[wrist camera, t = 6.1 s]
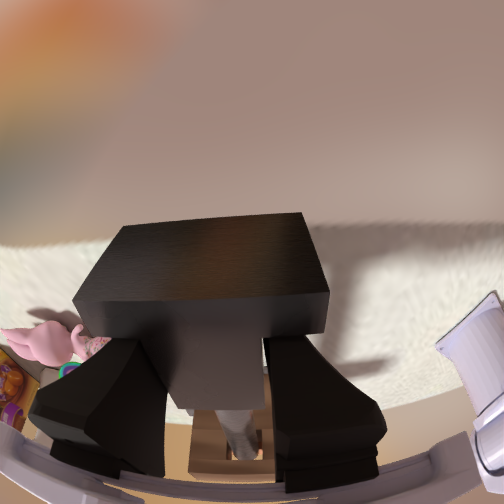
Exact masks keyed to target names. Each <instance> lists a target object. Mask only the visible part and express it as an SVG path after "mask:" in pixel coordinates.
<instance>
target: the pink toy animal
mask: <svg viewBox="0 0 504 504" xmlns="http://www.w3.org/2000/svg"><path fill="white" fill-rule="evenodd" d="M0 330H1V332H2V333H3V334H4V335H5V336H6V337H7V338H8V339H7V342H8V344H9V345H10V347H11V348H12V349H13V350H14V351H15V353H16V354H18V355H19V356H20V357H22V358H24V359H27V360H31V361H39V362H41V363H42V364H44V365H47V366H61V365H63V366H62V367H61V368H60V371H59V379H60V378H61V377H63V376H65V375H66V374H68V373H69V372H71V371H72V370H74V369H75V368H77V367H78V366H80V365H81V363H77V362H69V361H70V360H71V358H72V356H73V353H75V354H77V355H78V356H79V357H80V358H81V359H82V360H83V361H84V362H85V361H86V360H87V359H89V358H90V357H91V356H93V355H94V354H95V353H96V352H98V351H99V350H100V349H101V348H102V347H103V346H104V345H105V344H107V343H108V342H109V341H110V340H111V339H112V338H109V337H95V338H91V337H88V336H79V332H81V331H82V330H83V326H82V325H81V324H78V325H77V326H76V327H75V328H74V329H73V331H72V334H71V333H70V332H68V331H67V328H66V327H65V326H62V325H61V324H60V323H59V322H56V321H46V322H44V323H42V324H40V325H38V326H36V327H34V328H31V329H28V328H15V329H2V328H1V329H0ZM9 339H10V340H9Z"/></svg>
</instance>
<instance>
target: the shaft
mask: <svg viewBox="0 0 504 504" xmlns="http://www.w3.org/2000/svg"><path fill="white" fill-rule="evenodd" d="M329 295H330V290H329V287H328V284H327V281H326V279H325V276H324V273H323V270H322V267H321V264H320V261H319V258H318V256H317V253H316V250H315V247H314V244H313V242H312V239H311V236H310V233H309V231H308V228H307V225H306V223H305V220H304V217H303V215H302V213H301V212H298V213H279V214H261V215H246V216H231V217H217V218H205V219H193V220H181V221H169V222H159V223H148V224H138V225H128V226H123V227H122V228H121V230H120V231H119V232H118V234H117V235H116V236H115V238H114V239H113V240H112V242H111V243H110V244H109V246H108V247H107V249H106V250H105V251H104V253H103V254H102V256H101V257H100V259H99V260H98V261H97V263H96V264H95V266H94V267H93V269H92V270H91V272H90V273H89V275H88V276H87V278H86V279H85V281H84V282H83V284H82V285H81V287H80V289H79V290H78V292H77V293H76V295H75V296H74V298H73V300H72V302H73V304H74V305H75V307H76V309H77V311H78V313H79V315H80V316H81V318H82V320H83V322H84V324H85V325H86V327H87V329H88V330H89V332H90V334H91V336H95V337H109V338H126V339H140V341H141V343H142V345H143V347H144V349H145V351H146V353H147V355H148V357H149V358H150V360H151V362H152V364H153V366H154V368H155V370H156V371H157V373H158V375H159V377H160V379H161V380H162V382H163V384H164V386H165V387H166V389H167V391H168V393H169V394H170V396H171V398H172V399H173V401H174V403H175V404H176V406H177V407H178V409H192V410H215V413H216V415H217V418H218V420H219V422H220V425H221V427H222V429H223V432H224V434H225V436H226V438H227V441H228V443H229V445H230V447H231V449H232V452H233V454H234V456H235V457H236V458H237V459H238V460H254V459H255V458H256V457H257V456H258V454H259V446H258V440H257V434H256V428H255V422H254V416H253V410H260V409H265V388H264V365H263V343H262V338H269V337H284V336H297V335H308V334H319V333H324V329H325V323H326V316H327V310H328V303H329Z"/></svg>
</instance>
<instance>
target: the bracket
mask: <svg viewBox="0 0 504 504" xmlns="http://www.w3.org/2000/svg"><path fill="white" fill-rule="evenodd" d="M264 388H265V409H260V410H253V416H254V422H255V428H256V434H257V440H258V442H262V451H263V460H232V449H231V447H230V445H229V443H228V441H227V438H226V436H225V434H224V432H223V429H222V427H221V425H220V422H219V420H218V418H217V415H216V413H215V410H194V417H193V426H192V435H191V445H190V455H189V466H188V473H189V474H191V475H192V476H193V477H194V478H196V479H197V480H206V481H229V482H257V481H275V461H274V440H273V420H272V401H271V389H270V382H269V376H268V374H264Z"/></svg>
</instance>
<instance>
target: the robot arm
mask: <svg viewBox="0 0 504 504" xmlns="http://www.w3.org/2000/svg"><path fill="white" fill-rule="evenodd" d="M263 344H264V350H265V357H266V363H267V369H268V376H269V382H270V389H271V401H272V420H273V440H274V461H275V483H264V484H220V483H203V482H191V481H181V480H173V479H166V478H163V477H164V476H165V461H164V431H165V414H166V403H167V394H168V391H167V389H166V387H165V386H164V384H163V382H162V380H161V379H160V377H159V375H158V373H157V371H156V370H155V368H154V366H153V364H152V362H151V360H150V358H149V357H148V355H147V353H146V351H145V349H144V347H143V345H142V343H141V341H140V339H126V338H112V339H111V340H110V341H109V342H108V343H107V344H105V345H104V346H103V347H102V348H101V349H100V350H99V351H98V352H96V353H95V354H94V355H93V356H91V357H90V358H89V359H87V360H86V361H85V362H84V363H82V364H81V365H80V366H78V367H77V368H75V369H74V370H72V371H71V372H69V373H68V374H66V375H65V376H63V377H61V378H60V379H58V380H56V381H54V382H52V383H50V384H48V385H47V386H45V387H43V388H41V389H39V390H37V392H36V395H35V397H34V399H33V402H32V404H31V407H30V409H29V412H28V414H27V415H28V418H29V420H30V421H31V422H32V423H33V424H34V425H35V426H36V427H37V428H39V429H40V430H41V431H42V432H44V433H45V434H46V435H48V436H49V437H50V438H51V439H53V443H52V447H51V448H49V447H47V446H45V445H42V444H40V443H37V442H35V441H33V440H31V439H28V438H26V437H25V436H24V435H23V434H22V433H20V432H19V431H18V430H16V429H15V428H13V427H11V426H9V425H7V424H5V423H4V422H2V421H0V473H2V474H3V475H5V476H6V477H7V478H9V479H11V480H12V481H13V482H15V483H16V484H18V485H19V486H21V487H22V488H24V489H25V490H27V491H28V492H30V493H32V494H33V495H35V496H37V497H38V498H40V499H42V500H44V501H45V502H47V503H49V504H144V502H145V501H144V500H143V499H141V498H138V497H135V496H132V495H130V494H127V493H125V492H123V491H122V490H120V489H116V488H113V487H110V486H107V485H104V484H103V482H104V483H108V484H111V485H115V486H118V487H122V488H126V489H131V490H135V491H140V492H145V493H150V494H155V495H161V496H167V497H173V498H181V499H190V500H201V501H213V502H241V503H243V502H245V503H247V502H249V503H250V502H277V501H291V500H300V501H294V502H288V503H281V504H447V503H449V502H451V501H453V500H455V499H457V498H458V497H460V496H462V495H464V494H466V493H468V492H469V491H471V490H473V489H475V488H476V487H478V486H480V485H481V484H482V480H481V477H482V479H483V482H484V484H485V487H486V490H487V491H488V492H492V493H499V494H504V312H503V310H502V307H501V305H500V303H499V301H498V299H497V297H496V295H495V294H494V293H491V294H490V295H489V296H488V297H487V298H486V299H485V300H484V301H483V302H482V303H481V304H480V305H479V306H478V307H477V308H476V309H475V310H474V311H473V312H472V313H471V314H470V315H468V316H467V317H466V318H465V319H464V320H463V321H462V322H461V323H460V324H459V325H458V326H456V327H455V328H454V329H453V330H452V331H451V332H450V333H448V334H447V335H446V336H445V337H444V338H443V339H441V340H440V341H439V342H438V343H437V344H436V345H435V349H436V350H437V351H438V352H440V353H441V354H442V355H444V356H445V357H447V358H448V359H449V360H451V361H452V362H453V363H454V365H455V367H456V369H457V371H458V374H459V376H460V378H461V380H462V382H463V384H464V386H465V389H466V391H467V393H468V395H469V398H470V400H471V402H472V405H473V407H474V409H475V412H476V414H477V417H478V418H477V419H476V420H474V421H473V424H474V427H475V428H474V429H473V431H472V433H471V437H470V440H469V438H468V435H467V432H466V431H463V432H461V433H459V434H457V435H454V436H452V437H450V438H447V439H445V440H443V441H441V442H439V443H437V444H435V445H434V446H433V447H431V448H430V449H429V451H426V452H423V453H420V454H418V455H415V456H412V457H409V458H406V459H403V460H399V461H396V462H393V463H389V464H386V465H382V466H378V465H377V461H376V456H377V455H378V451H377V447H376V444H377V443H378V442H379V441H380V440H381V439H382V438H383V437H384V435H385V433H386V432H387V426H386V422H385V419H384V416H383V414H382V412H381V410H380V408H379V406H378V404H377V402H376V401H374V400H373V399H372V398H370V397H369V396H367V395H366V394H364V393H363V392H362V391H360V390H359V389H358V388H357V387H355V386H354V385H353V384H352V383H350V382H349V381H348V380H347V379H346V378H344V377H343V376H342V375H341V374H340V373H339V372H338V371H337V370H336V369H335V368H334V367H333V366H332V365H331V364H330V363H329V362H328V361H327V360H326V359H325V358H324V357H323V356H322V355H321V354H320V353H319V351H318V350H317V349H316V348H315V347H314V346H313V344H312V343H311V342H310V341H309V339H308V338H307V337H306V335H297V336H284V337H269V338H263ZM480 475H481V476H480ZM316 497H318V498H317V499H309V498H316ZM301 499H306V500H301Z"/></svg>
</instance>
